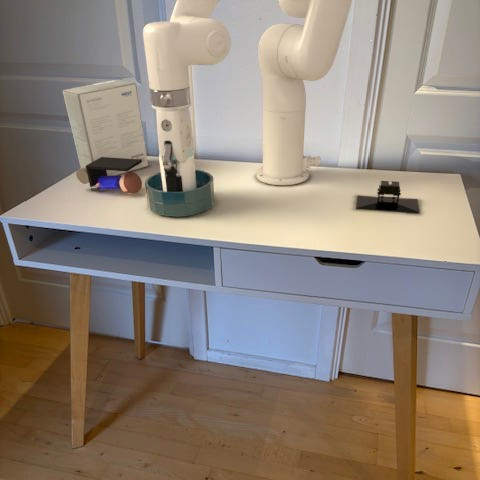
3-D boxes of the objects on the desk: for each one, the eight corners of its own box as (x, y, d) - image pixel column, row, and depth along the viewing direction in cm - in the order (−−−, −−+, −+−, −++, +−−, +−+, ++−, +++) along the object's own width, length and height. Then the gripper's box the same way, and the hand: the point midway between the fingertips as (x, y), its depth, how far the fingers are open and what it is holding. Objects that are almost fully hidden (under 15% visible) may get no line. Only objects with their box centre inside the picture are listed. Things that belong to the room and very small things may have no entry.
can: (191, 210, 102) (185, 151, 95) (159, 207, 104) (152, 150, 97) (202, 197, 108) (197, 141, 101) (172, 195, 109) (165, 140, 102)
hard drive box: (133, 160, 132) (120, 78, 120) (149, 166, 127) (138, 82, 116) (80, 174, 124) (61, 88, 112) (95, 182, 119) (77, 93, 107)
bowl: (202, 188, 113) (200, 165, 110) (224, 211, 103) (223, 185, 99) (142, 199, 109) (138, 174, 106) (157, 223, 99) (154, 197, 95)
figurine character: (80, 198, 115) (134, 199, 109) (70, 165, 110) (125, 164, 104) (98, 188, 120) (150, 188, 114) (89, 156, 115) (142, 155, 109)
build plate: (417, 200, 104) (421, 179, 102) (418, 214, 99) (423, 192, 96) (357, 196, 107) (360, 175, 104) (355, 210, 101) (358, 188, 98)
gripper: (179, 108, 86) (188, 205, 96) (199, 88, 100) (205, 174, 110) (137, 108, 87) (151, 204, 97) (163, 88, 101) (172, 174, 111)
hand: (179, 187), depth 104 cm, fingers closed on can, 7 cm apart
